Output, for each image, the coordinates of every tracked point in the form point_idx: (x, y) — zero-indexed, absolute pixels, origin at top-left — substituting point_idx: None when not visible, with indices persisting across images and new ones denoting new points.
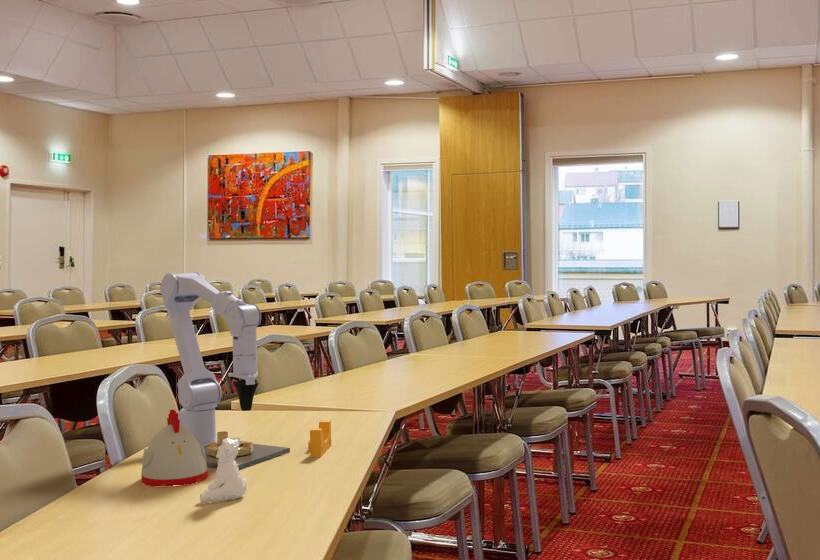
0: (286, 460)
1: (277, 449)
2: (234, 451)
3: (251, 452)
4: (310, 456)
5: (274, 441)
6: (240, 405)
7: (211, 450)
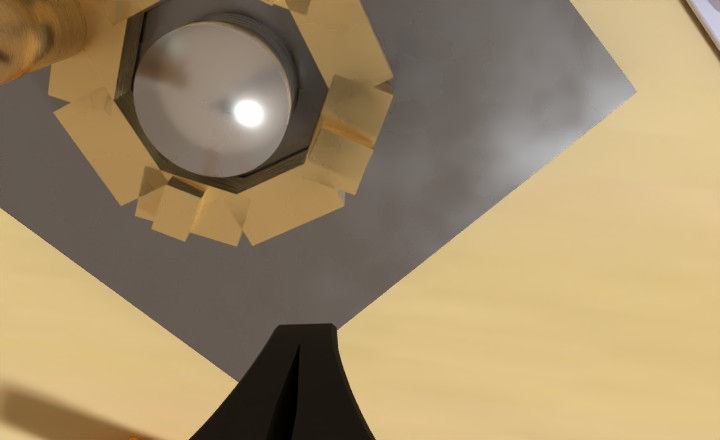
0: (72, 340)
1: (235, 340)
2: None
3: None
4: (130, 437)
5: (550, 351)
6: (309, 347)
7: None
